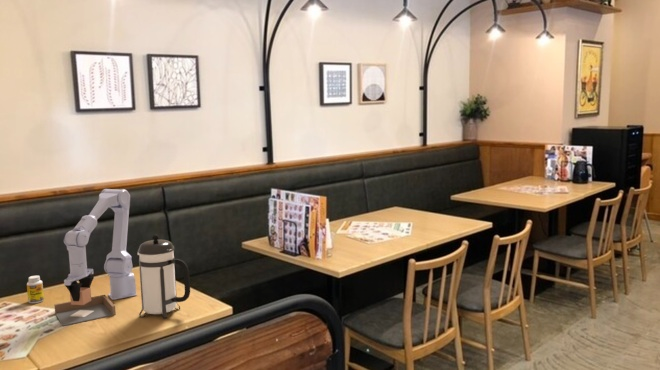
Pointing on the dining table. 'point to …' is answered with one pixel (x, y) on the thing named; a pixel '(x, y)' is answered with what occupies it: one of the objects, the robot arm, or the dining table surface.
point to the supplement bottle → (35, 290)
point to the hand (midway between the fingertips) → (81, 298)
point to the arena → (84, 310)
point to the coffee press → (160, 277)
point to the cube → (82, 296)
